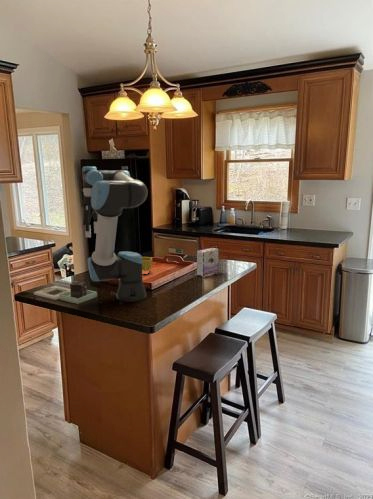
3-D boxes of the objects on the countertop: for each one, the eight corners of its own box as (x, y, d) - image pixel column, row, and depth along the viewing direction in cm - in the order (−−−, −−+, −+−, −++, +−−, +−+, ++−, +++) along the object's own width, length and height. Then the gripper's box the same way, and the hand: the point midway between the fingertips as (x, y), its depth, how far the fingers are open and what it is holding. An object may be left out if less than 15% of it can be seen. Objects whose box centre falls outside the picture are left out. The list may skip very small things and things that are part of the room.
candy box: (211, 272, 240) (212, 247, 236) (218, 274, 235) (219, 248, 232) (196, 276, 231) (196, 250, 227) (203, 278, 226) (203, 251, 223)
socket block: (76, 292, 199) (76, 289, 199) (54, 299, 188) (54, 296, 187) (55, 287, 207) (55, 284, 207) (33, 294, 196) (33, 291, 195)
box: (82, 299, 187) (81, 284, 185) (70, 298, 188) (69, 284, 186) (86, 295, 193) (86, 281, 191) (75, 294, 194) (75, 281, 192)
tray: (97, 296, 193) (96, 292, 192) (78, 304, 182) (77, 299, 181) (78, 292, 199) (78, 288, 199) (59, 299, 188) (59, 294, 188)
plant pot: (148, 276, 230) (148, 261, 228) (133, 275, 234) (132, 259, 232) (155, 272, 240) (154, 257, 238) (140, 271, 243) (140, 256, 241)
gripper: (92, 194, 214) (93, 231, 218) (75, 197, 189) (77, 238, 194) (104, 194, 213) (106, 231, 217) (89, 197, 189) (91, 239, 193)
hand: (92, 235), depth 205 cm, fingers open, 13 cm apart
